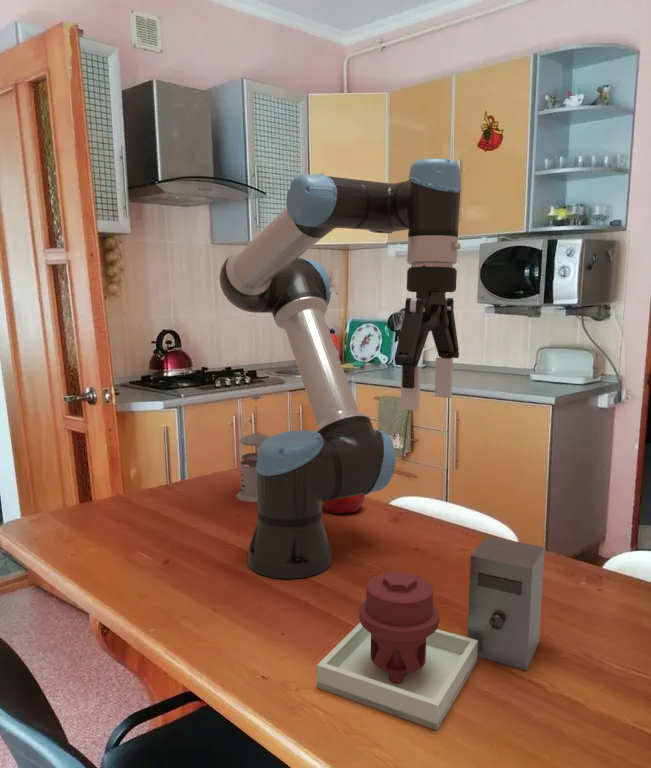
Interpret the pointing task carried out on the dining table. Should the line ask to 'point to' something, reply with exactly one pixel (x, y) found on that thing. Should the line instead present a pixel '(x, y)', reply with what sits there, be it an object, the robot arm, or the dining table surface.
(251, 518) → the dining table surface
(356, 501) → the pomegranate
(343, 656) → the tray
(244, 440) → the french press
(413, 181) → the robot arm
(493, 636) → the unit
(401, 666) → the mechanical component
